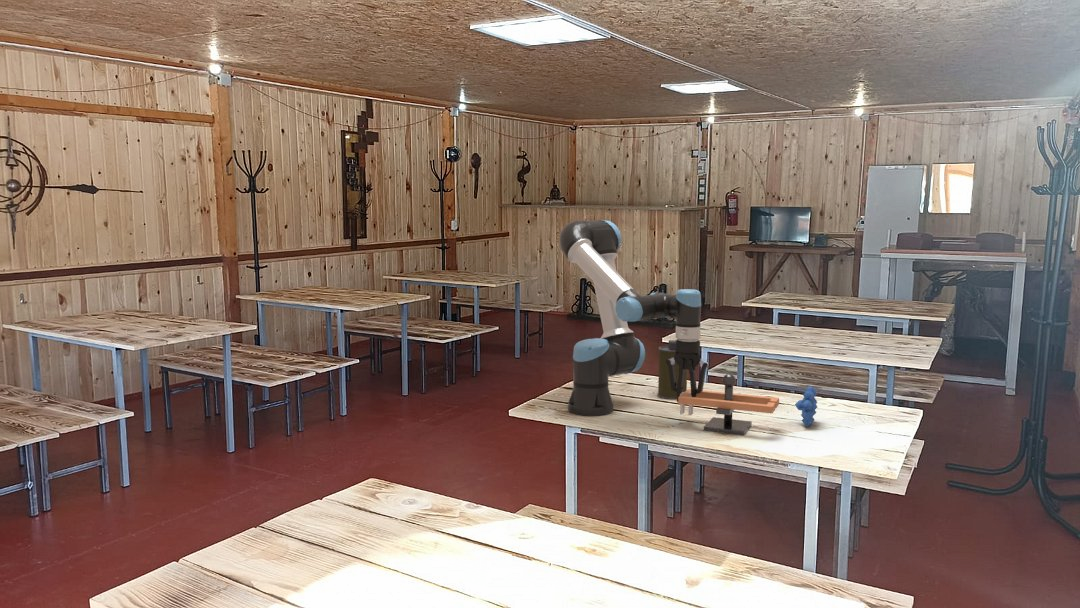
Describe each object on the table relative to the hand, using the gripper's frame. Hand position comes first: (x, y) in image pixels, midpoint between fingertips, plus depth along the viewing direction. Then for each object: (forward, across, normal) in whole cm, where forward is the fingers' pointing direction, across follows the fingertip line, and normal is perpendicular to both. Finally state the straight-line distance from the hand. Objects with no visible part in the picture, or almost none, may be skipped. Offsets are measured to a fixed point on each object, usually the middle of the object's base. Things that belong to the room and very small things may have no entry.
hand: (686, 413), depth 247 cm
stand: (+3, +13, 0) cm, 13 cm away
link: (-5, +13, 0) cm, 14 cm away
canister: (+3, -14, +33) cm, 36 cm away
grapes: (+3, +34, +14) cm, 37 cm away
